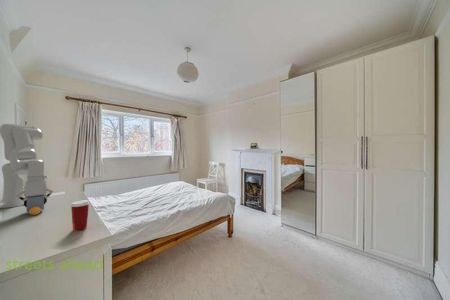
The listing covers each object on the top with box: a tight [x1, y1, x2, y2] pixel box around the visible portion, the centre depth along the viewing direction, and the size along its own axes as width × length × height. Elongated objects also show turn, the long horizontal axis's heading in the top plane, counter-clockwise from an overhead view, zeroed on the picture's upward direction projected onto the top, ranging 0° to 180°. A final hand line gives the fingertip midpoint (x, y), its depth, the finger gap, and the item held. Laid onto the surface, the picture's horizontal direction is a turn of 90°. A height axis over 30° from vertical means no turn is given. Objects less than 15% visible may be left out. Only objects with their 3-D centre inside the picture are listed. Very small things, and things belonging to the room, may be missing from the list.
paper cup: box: [70, 199, 90, 232], centre depth 93 cm, size 8×8×14 cm
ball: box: [28, 207, 42, 216], centre depth 112 cm, size 5×5×5 cm
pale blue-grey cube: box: [26, 195, 45, 213], centre depth 117 cm, size 8×8×9 cm
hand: (35, 205), depth 117 cm, fingers closed on pale blue-grey cube, 7 cm apart
